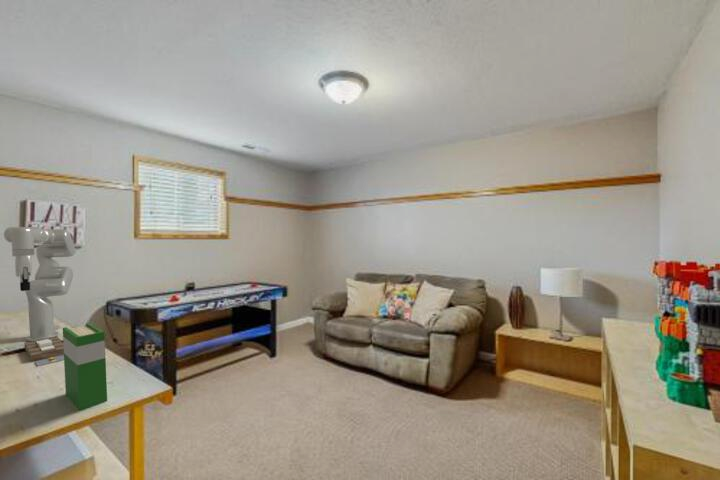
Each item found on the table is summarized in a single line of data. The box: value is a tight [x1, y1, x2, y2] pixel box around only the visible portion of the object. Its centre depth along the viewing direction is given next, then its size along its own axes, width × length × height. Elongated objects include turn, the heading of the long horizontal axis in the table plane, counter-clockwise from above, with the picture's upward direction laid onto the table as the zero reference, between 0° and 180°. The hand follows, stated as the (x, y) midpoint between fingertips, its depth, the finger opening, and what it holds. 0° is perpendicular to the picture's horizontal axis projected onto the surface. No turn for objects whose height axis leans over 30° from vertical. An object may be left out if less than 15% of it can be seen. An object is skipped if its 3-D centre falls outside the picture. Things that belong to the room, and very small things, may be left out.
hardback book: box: [62, 322, 108, 412], centre depth 115 cm, size 18×7×24 cm, turn 53°
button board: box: [23, 335, 64, 363], centre depth 159 cm, size 26×12×3 cm, turn 50°
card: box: [34, 355, 64, 367], centre depth 148 cm, size 7×10×1 cm
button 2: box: [40, 345, 55, 351], centre depth 155 cm, size 4×4×2 cm
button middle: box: [38, 340, 52, 348], centre depth 159 cm, size 4×4×2 cm
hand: (25, 290), depth 161 cm, fingers closed
